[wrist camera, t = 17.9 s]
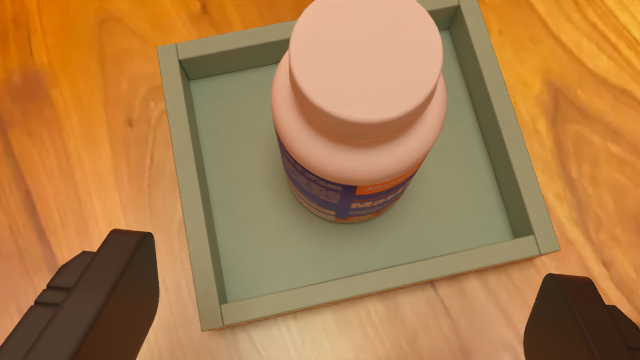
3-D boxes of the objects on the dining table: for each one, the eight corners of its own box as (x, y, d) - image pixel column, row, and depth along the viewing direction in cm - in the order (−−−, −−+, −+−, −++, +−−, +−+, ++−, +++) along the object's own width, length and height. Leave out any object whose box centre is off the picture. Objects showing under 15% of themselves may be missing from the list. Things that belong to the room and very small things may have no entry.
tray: (458, 16, 25) (472, -16, 23) (535, 257, 22) (561, 250, 20) (171, 73, 25) (155, 46, 22) (214, 330, 22) (201, 331, 19)
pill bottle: (358, 251, 22) (389, 199, 13) (257, 172, 23) (215, 67, 13) (435, 152, 23) (516, 36, 14) (336, 80, 24) (348, -76, 15)
